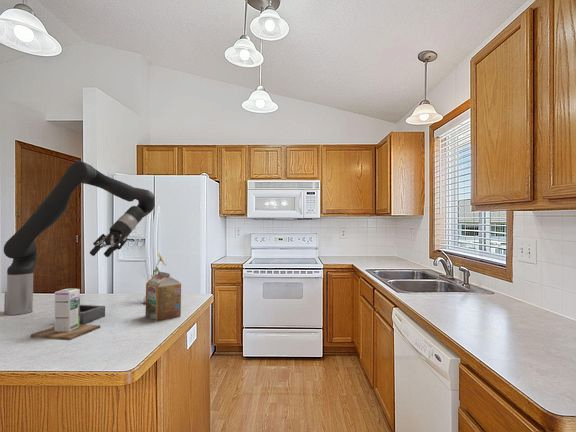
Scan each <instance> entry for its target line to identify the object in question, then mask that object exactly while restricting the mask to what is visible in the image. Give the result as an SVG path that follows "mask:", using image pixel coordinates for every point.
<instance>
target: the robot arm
mask: <svg viewBox="0 0 576 432" xmlns="http://www.w3.org/2000/svg"><path fill="white" fill-rule="evenodd" d="M80 184H84V185H89V186H93V187H95V188H96V187H97V188H99V189H101V190H104V191H106V192H108V193H109V194H111V195H113V196H115V197H116V198H117V197H118V198H120V199H122V200H124V201H127V202H133V201H135V200H137V201H138V204H137V205H132V206H130V207H129V208H128V209H127V210H126V211H125V212H124V213H123V214H122V215H120V217H119V218H118V219H117V220H115V222H114V223H113V224H112V225H111V226H110V228H109V233H108V234H106V235H105V233H102V234H100V236H99V237H98V238H97V239H96V240H95V241H94V242H93V246H94V247H93V248H92V249H91V250H90V251H89V254H90V256H92V257H95V256H96V254H98V252H99V251H100V250H101V249H103V248H107V247H108V246H109V247H108V248H107V249H106V250H105V251H104V253H103V255H104V257H106V258H109V257H110V256H111V255H112V254H113V252H114V251H117V250H121V249H122V247H124V245H125V244H126V242H128V240H129V239H128V237H129V235H130V234H131V233H132V232H133V231H135V228H136V227H137V226H138V224H139V223H140V222H141V221H142V220H143V218H145V217H146V216H147V215H150V214H151V212H153V210H154V208H155V207H156V203H155V202H156V201H155V199H156V198H155V194H154V193H153V192H152V191H150V190H149V189H144V188H140V187H135V186H132V185H131V184H127V183H125V182H123V181H120V180H118V179H116V178H115V179H114V178H112V177H109V176H107V175H105V174H104V173H102V172H101V171H100V170H98V169H96V168H95V167H94V166H92V165H91V164H88V163H86V162H84V161H82V160H80V161H79V160H78V161H74V162H72V163H71V164H70V165H69V166H68V167H67V169H66V171H64V174H63V175H62V176H61V178H60V180H59V181H58V183H57V184H56V185H55V186H54V187H53V189H51V191H50V192H49V194H48V195H47V196H46V197H45V198H44V199H43V200H42V201H41V203H40V204H39V205H38V207H37V208H35V210H34V211H33V213H31V215H30V216H29V218H28V219H27V220H26V221H25V223H23V225H22V226H21V227H20V228H19V229H18V230H17V231H16V232H15V233H13V235H12V236H11V237H10V238H9V239H7V241H5V244H4V246H3V253H4V255H5V257H7V258H9V259H12V262H11V264H10V266H8V267H7V271H6V291H4V302H3V303H4V305H3V307H4V311H3V314H6V315H8V316H18V315H25V314H28V313H29V314H30V313H31V312H33V309H34V308H33V306H34V305H33V304H34V303H33V301H34V271H35V270H34V269H35V267H36V263H37V251H38V249H37V248H38V247H37V246H38V245H37V243H36V241H35V240H36V239H37V237H39V236H40V234H42V233H43V232H45V231H46V230H47V229H49V228H50V227H51V226H53V225H54V224H55V223H56V222H58V220H60V218H61V217H62V215H63V214H64V213H65V212H66V210H67V208H68V206H69V203H70V199H71V196H72V194H73V192H74V191H75V190H76V189H77V187H78V186H79V185H80Z"/></svg>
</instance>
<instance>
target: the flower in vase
mask: <svg viewBox="0 0 576 432" xmlns="http://www.w3.org/2000/svg"><path fill="white" fill-rule="evenodd" d="M157 256H158V257H159V260H158V261H157V263H156V266H155V269H153V273H155V274H150V275H149V276H150V277H151V279H152V278H153V277H154V276H156V275H157V274H158V271H160V269H159V267H158V265H159V263H160V262H161V263H162V264H163V265H164V267H166V266H167V264H166V262H165V260H164V258H163V256H162V255H161V253H160V252H157ZM142 300H143V302H144V303H146V295H145V296H144V297H143V299H142Z"/></svg>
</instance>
